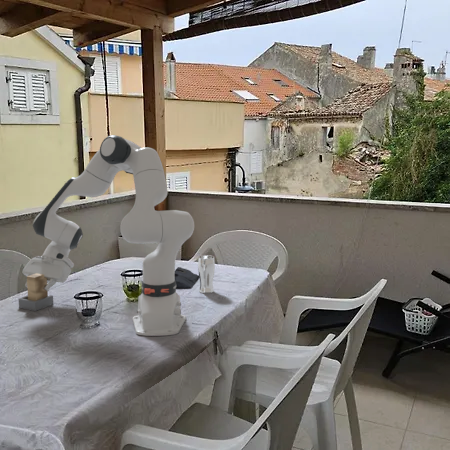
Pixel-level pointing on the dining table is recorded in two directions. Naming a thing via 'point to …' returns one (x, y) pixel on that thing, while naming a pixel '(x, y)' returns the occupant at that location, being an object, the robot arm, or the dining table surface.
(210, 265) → the beer glass
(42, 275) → the tan rectangular block
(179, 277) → the dark slate chunk
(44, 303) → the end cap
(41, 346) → the dining table surface
